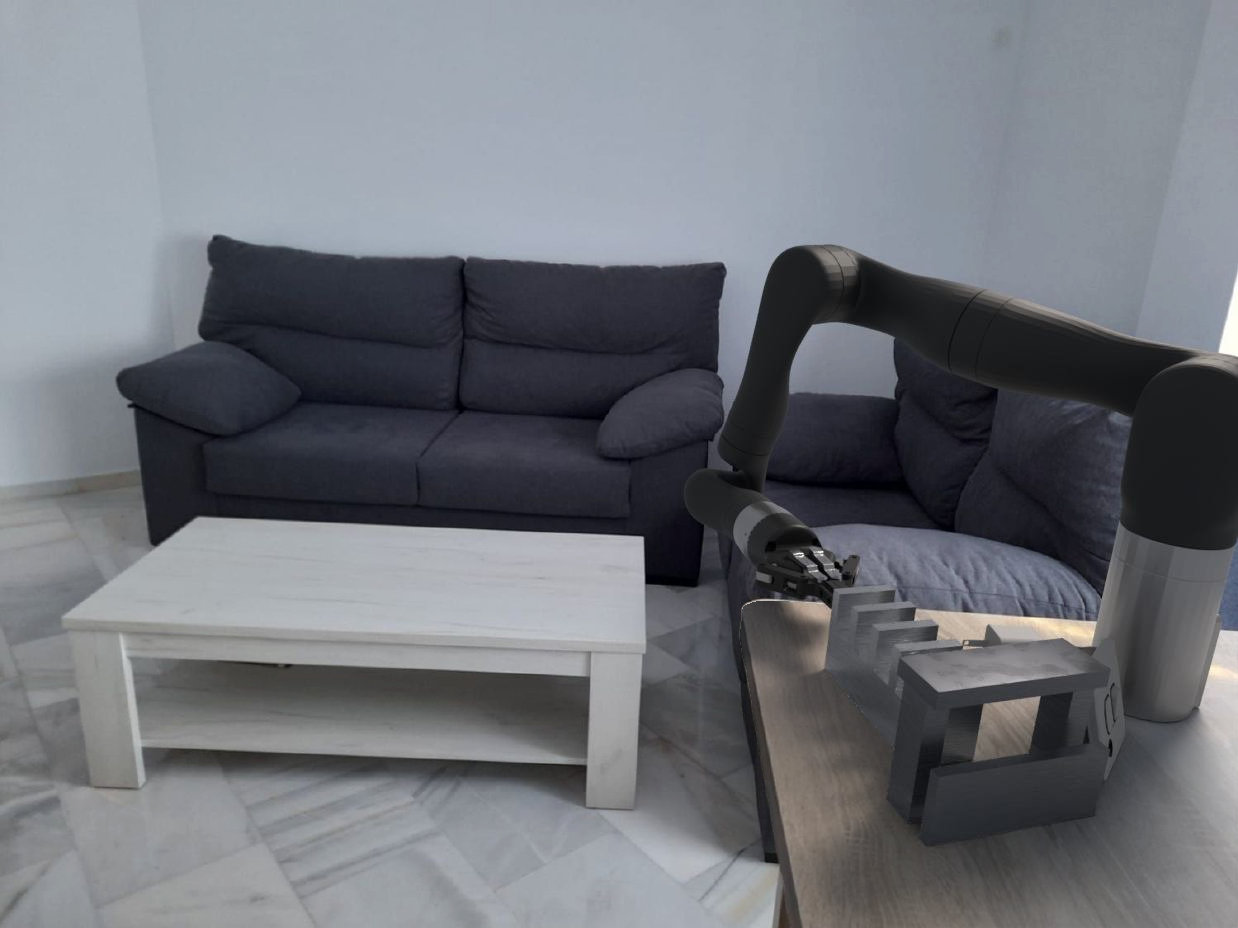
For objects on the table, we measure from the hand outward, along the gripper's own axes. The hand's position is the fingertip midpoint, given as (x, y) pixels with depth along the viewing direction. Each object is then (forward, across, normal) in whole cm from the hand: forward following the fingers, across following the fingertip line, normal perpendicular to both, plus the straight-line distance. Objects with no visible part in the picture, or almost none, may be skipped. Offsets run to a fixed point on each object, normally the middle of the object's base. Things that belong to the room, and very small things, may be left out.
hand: (848, 605), depth 89 cm
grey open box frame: (+22, 0, +6) cm, 23 cm away
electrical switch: (+18, +13, +6) cm, 23 cm away
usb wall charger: (+5, +15, +6) cm, 17 cm away
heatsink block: (+10, 0, +6) cm, 11 cm away
